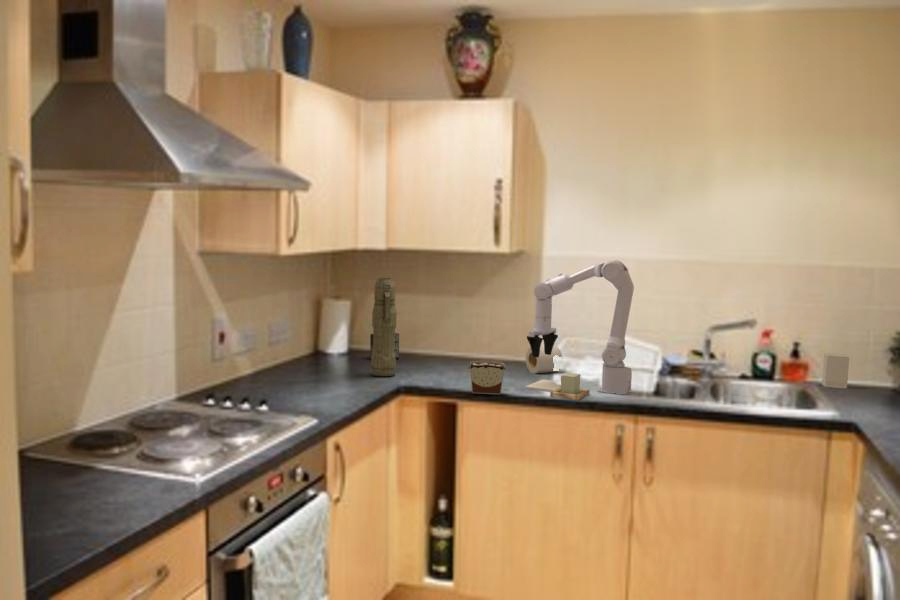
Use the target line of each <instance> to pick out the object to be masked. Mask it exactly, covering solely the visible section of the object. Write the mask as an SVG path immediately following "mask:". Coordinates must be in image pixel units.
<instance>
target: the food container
mask: <svg viewBox="0 0 900 600" xmlns="http://www.w3.org/2000/svg"><path fill="white" fill-rule="evenodd" d="M467 369H468V370H469V369H470V371H469V372H470V380H471V381H470V383H471V393H472V394H481V395H482V394H483V395H484V394H485V395H487V394H488V395H501V394H502V387H503V382H504V381H503V380H504V374H505V373H504V372H505V371H507V368H506V364H505V363H504V362H501V361H493V360H474V361H471V362H470V363H469V365H468V368H467Z"/></svg>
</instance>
